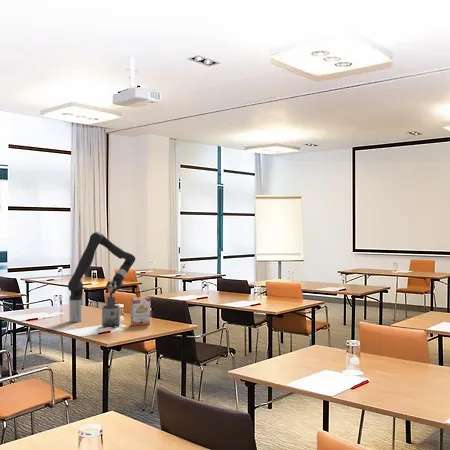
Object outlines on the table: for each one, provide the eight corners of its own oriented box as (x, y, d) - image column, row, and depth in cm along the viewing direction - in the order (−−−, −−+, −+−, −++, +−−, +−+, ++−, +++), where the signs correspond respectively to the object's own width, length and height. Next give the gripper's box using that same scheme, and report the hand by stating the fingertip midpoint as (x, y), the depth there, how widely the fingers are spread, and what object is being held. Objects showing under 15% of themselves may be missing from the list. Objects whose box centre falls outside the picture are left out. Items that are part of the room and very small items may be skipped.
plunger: (107, 303, 403) (107, 288, 403) (113, 303, 405) (113, 287, 405) (108, 304, 399) (108, 288, 399) (114, 304, 401) (114, 288, 401)
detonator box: (101, 325, 406) (101, 296, 406) (118, 324, 410) (118, 295, 410) (103, 329, 389) (103, 299, 390) (121, 328, 394) (121, 298, 394)
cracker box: (132, 326, 400) (132, 298, 401) (130, 325, 406) (130, 297, 406) (150, 324, 407) (150, 297, 407) (147, 323, 412) (147, 296, 412)
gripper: (110, 272, 412) (99, 289, 402) (124, 273, 405) (114, 290, 395) (115, 278, 417) (104, 295, 406) (129, 279, 410) (118, 296, 399)
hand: (109, 292), depth 401 cm, fingers open, 6 cm apart
